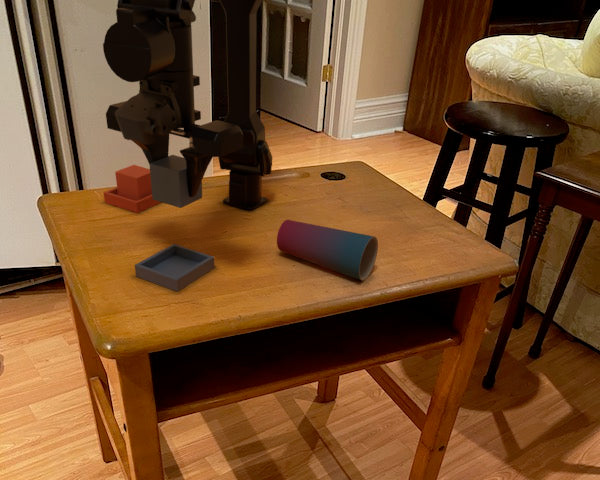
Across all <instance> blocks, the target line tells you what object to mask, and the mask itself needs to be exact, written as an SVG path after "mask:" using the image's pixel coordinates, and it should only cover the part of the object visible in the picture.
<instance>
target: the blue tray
mask: <svg viewBox="0 0 600 480" xmlns="http://www.w3.org/2000/svg"><path fill="white" fill-rule="evenodd" d="M214 269H215V256H212V255H209V254H207V253H204V252H201V251H198V250H195V249H192V248H189V247H186V246H182V245H181V244H177V243H172V244H170V245H169V246H167V247H165V248H162V249H161V250H159V251H158V252H156V253H154V254H152V255H150V256H148V257H146V258H145V259H143V260H141V261H139V262H138V263H135V264H134V272H135V277H137V278H138V279H141V280H145V281H147V282H150V283H152V284H155V285H158V286H161V287H163V288H166V289H168V290H171V291H173V292H177V293H178V292H179V291H181V290H183V289H185V287H187V286H188V285H190V284H192V283H194V282H195V281H196V280H198V279H200V278H201V277H202V276H205V275H206V274H208V273H209V272H211V271H212V270H214Z"/></svg>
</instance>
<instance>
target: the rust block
mask: <svg viewBox="0 0 600 480" xmlns="http://www.w3.org/2000/svg"><path fill="white" fill-rule="evenodd" d="M114 173H115V181H116V182H115V183H116V187H117V190H118V196H122V197H125V198H128V199H131V200H134V201H138V200H140V199H142V198H144V197H147V196H149V195H151V194H152V188H151V176H150V168H147V167H144V166H140V165H137V164H132V165H130V166H127V167H123V168H121V169H119V170H116V171H114Z"/></svg>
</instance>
